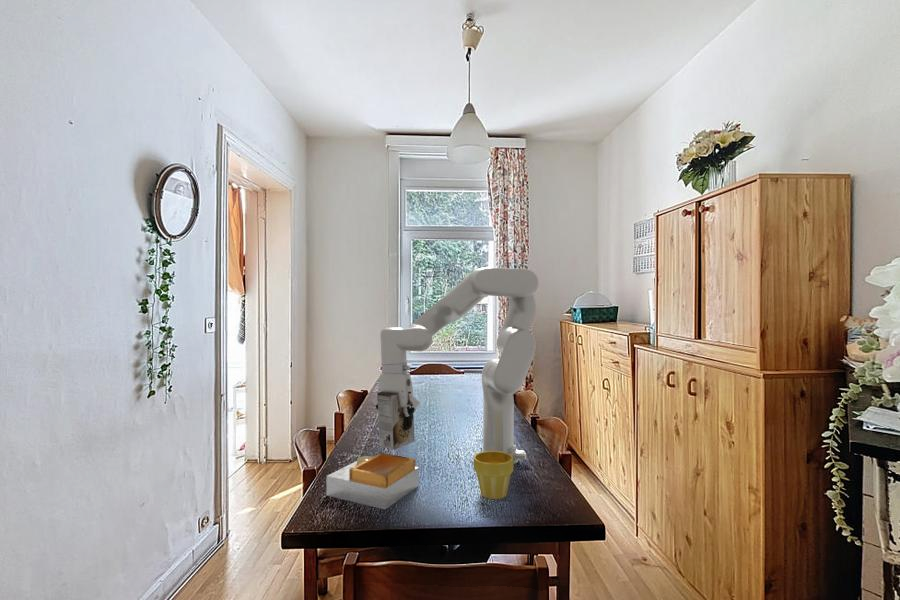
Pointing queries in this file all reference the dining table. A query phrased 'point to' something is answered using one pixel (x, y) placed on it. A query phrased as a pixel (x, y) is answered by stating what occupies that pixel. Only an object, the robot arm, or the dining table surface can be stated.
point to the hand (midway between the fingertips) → (396, 427)
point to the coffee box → (393, 422)
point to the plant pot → (493, 473)
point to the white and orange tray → (374, 480)
